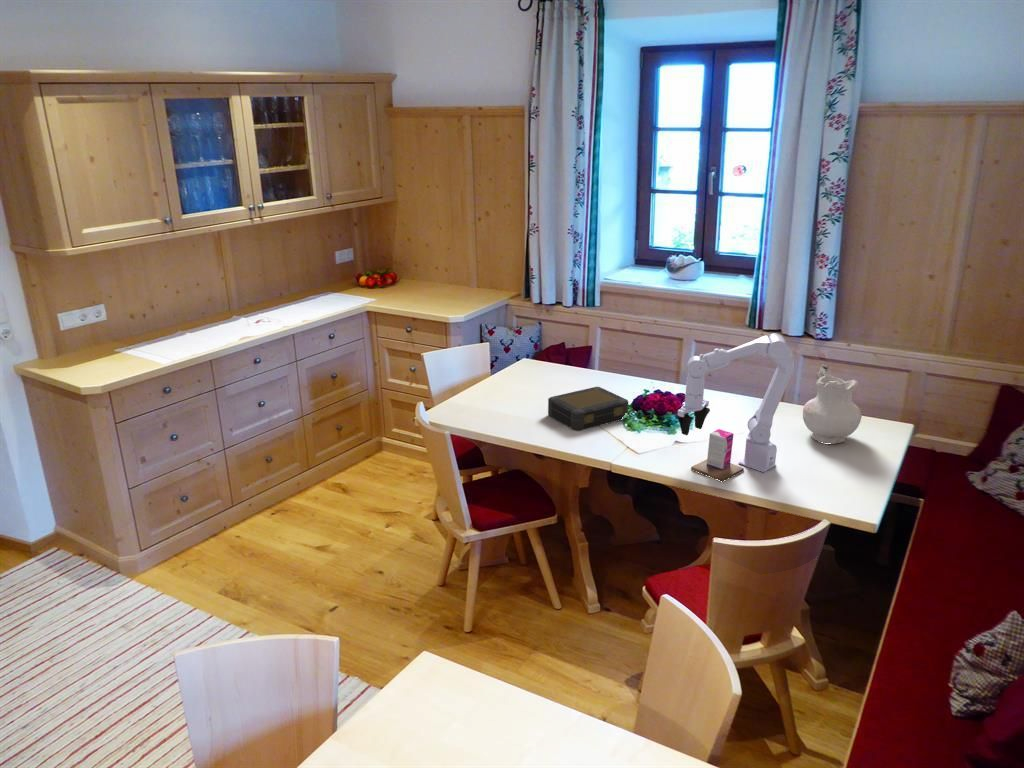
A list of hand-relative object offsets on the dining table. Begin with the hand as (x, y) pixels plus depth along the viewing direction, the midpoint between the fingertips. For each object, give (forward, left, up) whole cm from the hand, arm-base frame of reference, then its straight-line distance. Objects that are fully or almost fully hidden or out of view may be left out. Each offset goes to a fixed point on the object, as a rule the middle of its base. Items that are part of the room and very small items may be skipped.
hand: (691, 431), depth 262 cm
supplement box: (-11, -1, -10) cm, 14 cm away
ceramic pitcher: (-22, -52, -11) cm, 57 cm away
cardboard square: (-11, 0, -11) cm, 16 cm away
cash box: (+50, -4, -11) cm, 51 cm away
